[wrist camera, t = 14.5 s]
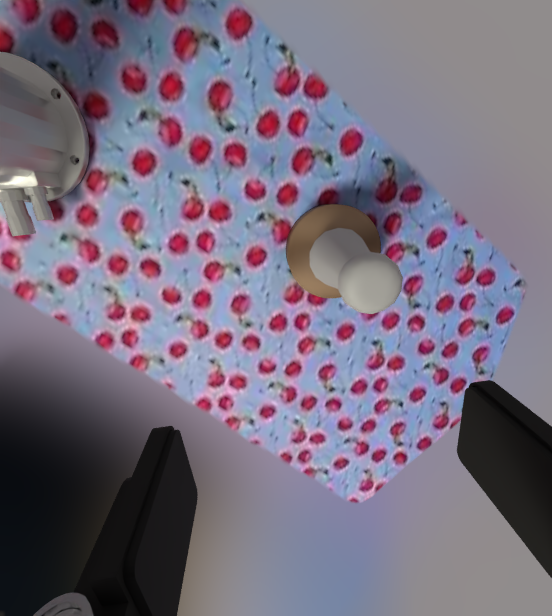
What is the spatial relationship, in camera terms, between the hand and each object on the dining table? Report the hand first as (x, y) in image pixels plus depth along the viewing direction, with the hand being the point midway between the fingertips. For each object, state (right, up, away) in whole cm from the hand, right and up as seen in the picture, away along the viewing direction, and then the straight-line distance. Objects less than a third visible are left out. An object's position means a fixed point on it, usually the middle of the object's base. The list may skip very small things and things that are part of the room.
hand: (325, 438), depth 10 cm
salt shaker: (+4, +10, +23) cm, 25 cm away
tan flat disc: (+5, +11, +25) cm, 28 cm away
